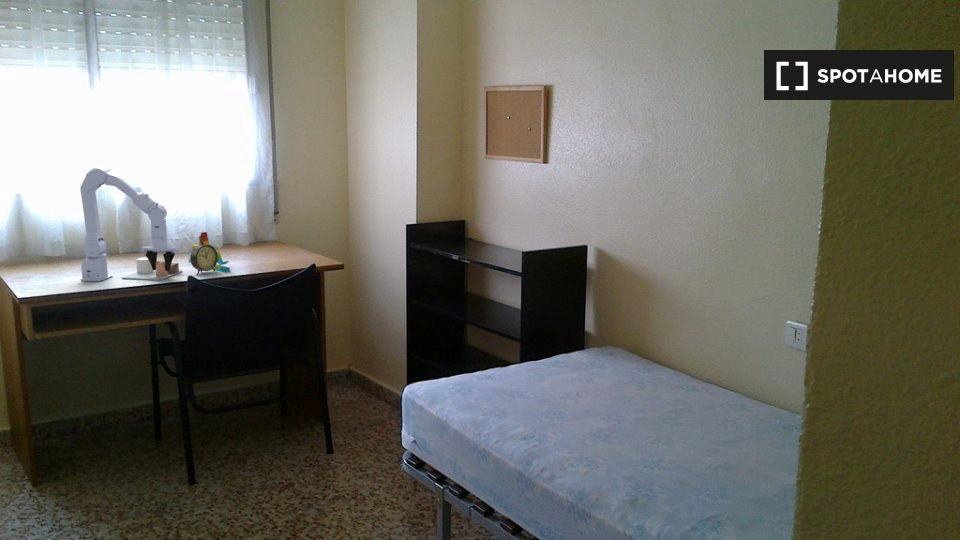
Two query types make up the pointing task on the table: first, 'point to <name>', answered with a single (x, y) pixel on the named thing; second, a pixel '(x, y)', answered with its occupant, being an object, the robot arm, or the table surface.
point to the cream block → (143, 265)
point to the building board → (148, 276)
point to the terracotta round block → (161, 269)
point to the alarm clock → (203, 257)
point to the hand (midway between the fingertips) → (161, 270)
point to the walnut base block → (174, 268)
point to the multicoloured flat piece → (219, 261)
